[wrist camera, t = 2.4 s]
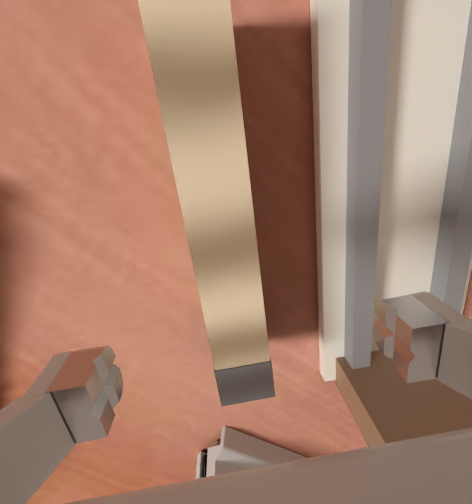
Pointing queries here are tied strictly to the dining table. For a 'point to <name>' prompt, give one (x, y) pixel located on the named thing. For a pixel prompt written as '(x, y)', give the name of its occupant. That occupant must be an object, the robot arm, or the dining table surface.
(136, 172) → the dining table surface
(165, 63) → the wooden block
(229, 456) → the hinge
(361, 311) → the slot board
